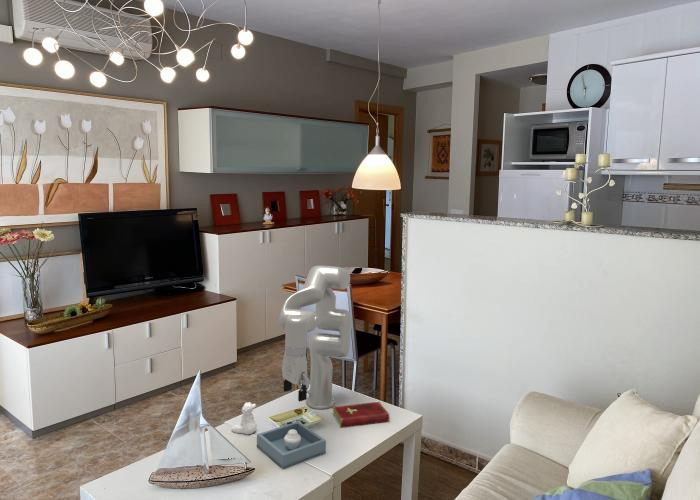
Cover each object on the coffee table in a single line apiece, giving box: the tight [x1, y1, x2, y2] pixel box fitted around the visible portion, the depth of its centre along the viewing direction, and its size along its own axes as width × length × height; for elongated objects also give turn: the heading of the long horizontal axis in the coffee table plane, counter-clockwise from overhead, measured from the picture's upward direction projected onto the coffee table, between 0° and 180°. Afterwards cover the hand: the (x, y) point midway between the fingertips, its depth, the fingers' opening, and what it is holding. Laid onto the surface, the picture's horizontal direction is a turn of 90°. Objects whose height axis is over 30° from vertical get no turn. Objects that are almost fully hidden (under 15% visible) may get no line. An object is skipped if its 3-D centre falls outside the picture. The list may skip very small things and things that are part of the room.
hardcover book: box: [331, 401, 391, 429], centre depth 222 cm, size 12×21×4 cm, turn 108°
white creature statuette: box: [230, 401, 258, 435], centre depth 208 cm, size 10×9×12 cm
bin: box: [256, 421, 327, 470], centre depth 195 cm, size 18×18×5 cm
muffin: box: [284, 429, 301, 450], centre depth 195 cm, size 6×6×7 cm
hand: (294, 395), depth 194 cm, fingers open, 9 cm apart
